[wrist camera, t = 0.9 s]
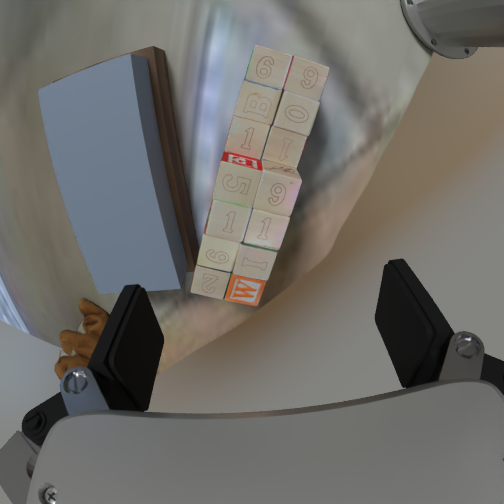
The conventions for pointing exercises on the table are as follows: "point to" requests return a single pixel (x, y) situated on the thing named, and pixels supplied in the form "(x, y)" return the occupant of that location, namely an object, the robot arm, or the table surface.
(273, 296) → the table surface
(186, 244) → the walnut tower block
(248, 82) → the stack of blocks
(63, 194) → the slate-blue tower block
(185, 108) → the table surface
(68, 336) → the stuffed squirrel
